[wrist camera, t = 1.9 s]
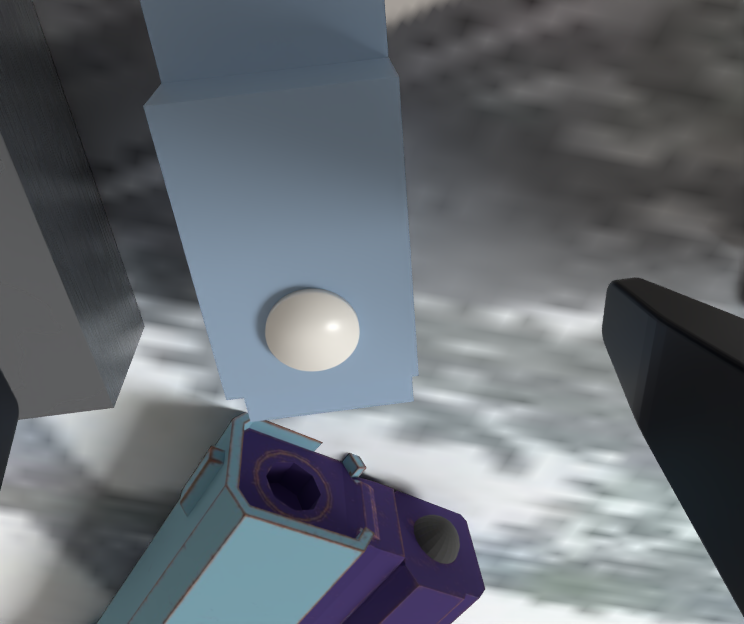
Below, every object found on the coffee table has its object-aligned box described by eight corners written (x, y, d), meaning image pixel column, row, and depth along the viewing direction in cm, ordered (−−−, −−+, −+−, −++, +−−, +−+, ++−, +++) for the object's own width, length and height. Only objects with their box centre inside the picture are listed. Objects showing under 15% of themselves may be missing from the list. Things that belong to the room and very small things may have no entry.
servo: (362, -80, 13) (391, -72, 9) (396, 321, 19) (424, 451, 14) (167, -59, 13) (97, -40, 9) (259, 339, 18) (245, 474, 14)
